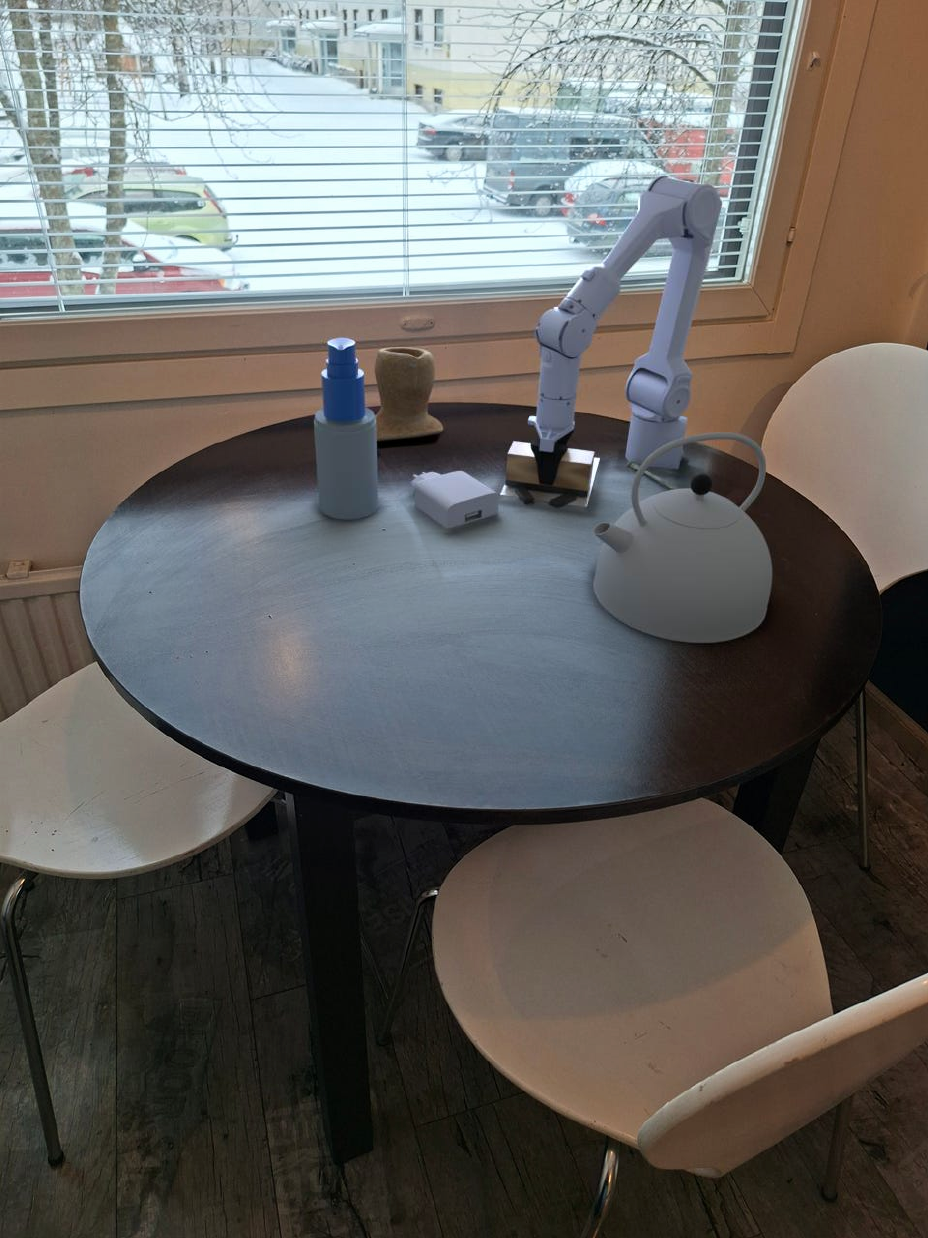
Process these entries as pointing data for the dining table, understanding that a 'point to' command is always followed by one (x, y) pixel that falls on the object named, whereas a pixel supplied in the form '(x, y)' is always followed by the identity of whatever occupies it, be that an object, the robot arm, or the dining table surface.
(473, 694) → the dining table surface
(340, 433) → the spray bottle
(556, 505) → the black angular block
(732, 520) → the kettle
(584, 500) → the whiteboard
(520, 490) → the dark grey rectangular block
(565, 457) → the eraser
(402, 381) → the stone cup
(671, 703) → the dining table surface
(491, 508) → the charger
